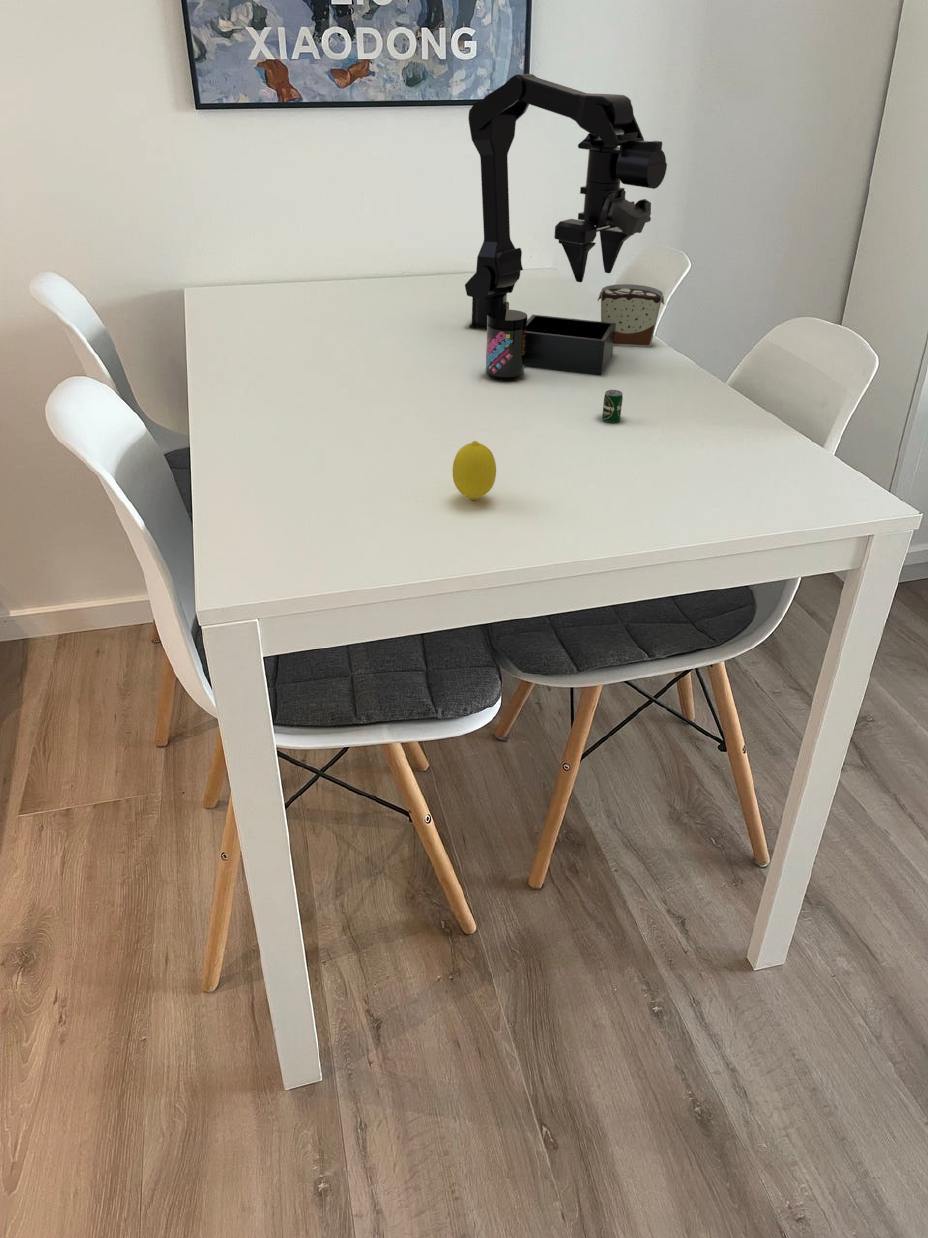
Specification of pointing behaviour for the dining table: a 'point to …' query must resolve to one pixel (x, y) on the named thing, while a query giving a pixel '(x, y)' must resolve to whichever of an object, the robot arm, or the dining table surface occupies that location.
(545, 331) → the basin
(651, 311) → the food container
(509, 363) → the supplement container
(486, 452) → the lemon
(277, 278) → the dining table surface
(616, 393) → the beer can
